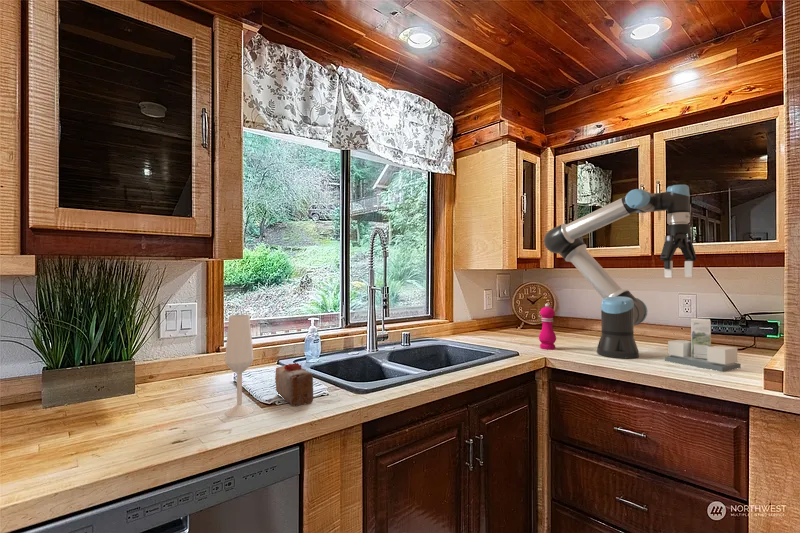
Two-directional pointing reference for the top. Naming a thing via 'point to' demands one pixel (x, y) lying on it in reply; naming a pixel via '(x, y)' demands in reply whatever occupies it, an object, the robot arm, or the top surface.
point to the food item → (294, 384)
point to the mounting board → (702, 364)
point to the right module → (722, 354)
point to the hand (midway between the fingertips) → (678, 277)
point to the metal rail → (703, 360)
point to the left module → (679, 348)
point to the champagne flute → (239, 357)
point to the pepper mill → (547, 329)
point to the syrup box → (700, 337)
